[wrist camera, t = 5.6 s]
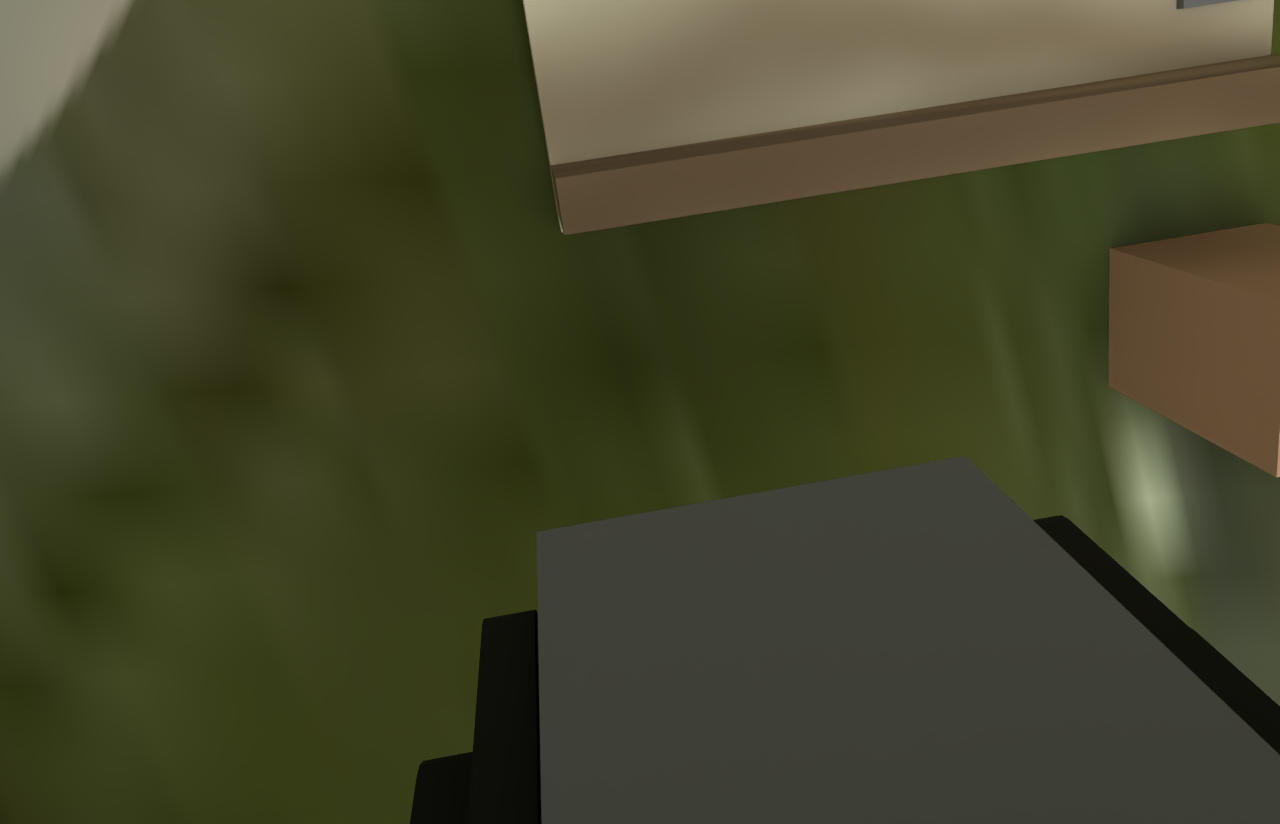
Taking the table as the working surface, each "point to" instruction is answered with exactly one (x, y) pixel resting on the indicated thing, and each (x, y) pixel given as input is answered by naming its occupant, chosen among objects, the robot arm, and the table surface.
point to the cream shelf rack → (869, 92)
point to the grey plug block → (867, 670)
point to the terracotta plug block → (1203, 335)
